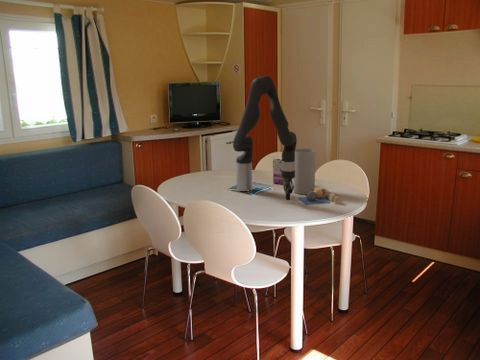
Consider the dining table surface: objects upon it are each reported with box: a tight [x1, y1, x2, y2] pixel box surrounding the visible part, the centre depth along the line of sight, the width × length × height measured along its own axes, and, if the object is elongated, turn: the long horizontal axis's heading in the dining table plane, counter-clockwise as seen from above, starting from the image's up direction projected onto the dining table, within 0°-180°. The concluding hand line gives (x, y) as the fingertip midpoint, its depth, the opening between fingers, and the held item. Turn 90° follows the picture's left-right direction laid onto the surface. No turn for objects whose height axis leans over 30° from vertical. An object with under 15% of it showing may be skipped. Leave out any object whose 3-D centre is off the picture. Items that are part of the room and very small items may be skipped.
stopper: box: [320, 188, 340, 205], centre depth 256 cm, size 20×2×4 cm, turn 13°
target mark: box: [297, 196, 331, 206], centre depth 255 cm, size 14×14×1 cm
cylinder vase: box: [292, 148, 316, 195], centre depth 269 cm, size 12×12×25 cm
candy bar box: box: [272, 157, 284, 185], centre depth 290 cm, size 11×5×16 cm, turn 76°
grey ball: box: [305, 191, 316, 201], centre depth 253 cm, size 6×6×6 cm
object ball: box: [313, 188, 324, 199], centre depth 257 cm, size 6×6×6 cm
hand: (287, 199), depth 251 cm, fingers closed
